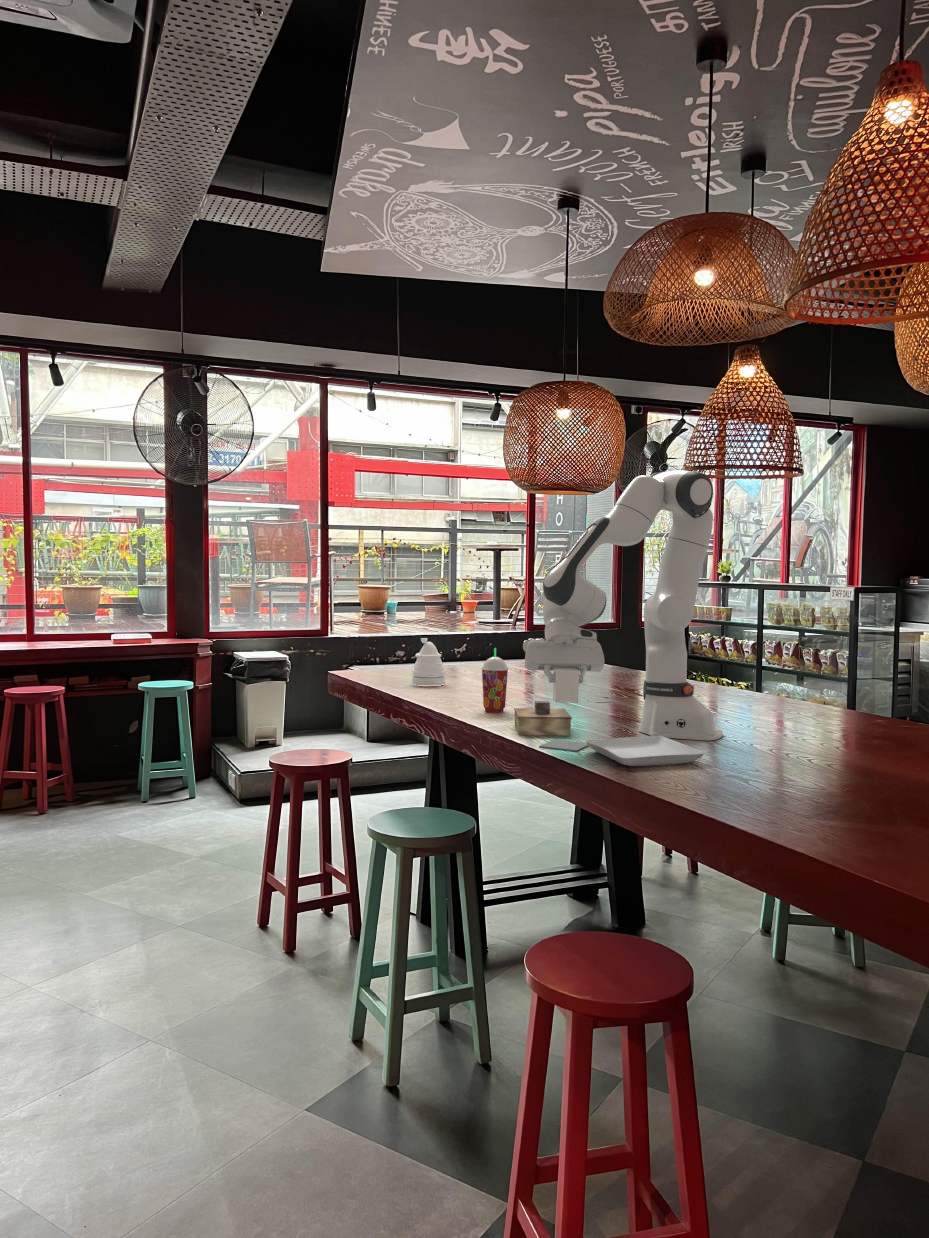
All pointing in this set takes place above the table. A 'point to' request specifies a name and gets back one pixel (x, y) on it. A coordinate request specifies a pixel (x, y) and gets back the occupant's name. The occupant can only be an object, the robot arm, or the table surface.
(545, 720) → the box
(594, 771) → the table surface
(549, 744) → the mat
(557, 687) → the cap
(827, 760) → the table surface
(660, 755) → the salad plate
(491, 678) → the smoothie
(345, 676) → the table surface
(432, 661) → the honey pot
